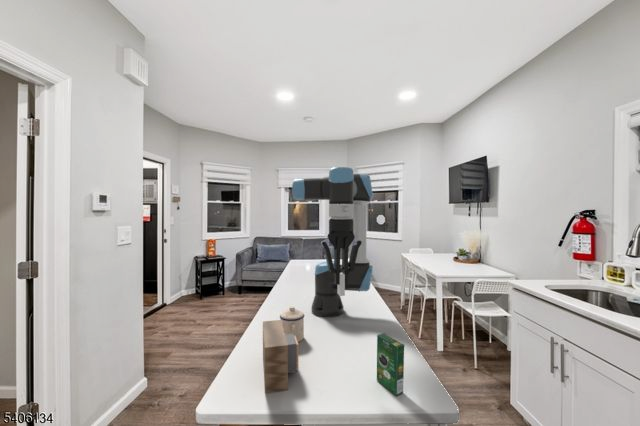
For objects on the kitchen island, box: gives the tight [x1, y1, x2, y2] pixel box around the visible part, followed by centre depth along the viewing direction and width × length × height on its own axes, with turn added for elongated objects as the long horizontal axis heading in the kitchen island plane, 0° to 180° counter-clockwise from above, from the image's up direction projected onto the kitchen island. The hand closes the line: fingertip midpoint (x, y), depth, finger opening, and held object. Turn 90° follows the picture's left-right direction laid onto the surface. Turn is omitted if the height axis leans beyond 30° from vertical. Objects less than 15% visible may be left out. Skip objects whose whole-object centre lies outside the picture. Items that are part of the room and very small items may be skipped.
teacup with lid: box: [279, 306, 305, 343], centre depth 106 cm, size 12×9×12 cm
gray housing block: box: [285, 334, 299, 374], centre depth 85 cm, size 9×7×8 cm
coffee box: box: [376, 332, 405, 397], centre depth 77 cm, size 8×3×13 cm, turn 29°
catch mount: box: [262, 319, 289, 394], centre depth 84 cm, size 6×18×12 cm, turn 13°
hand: (341, 294), depth 89 cm, fingers closed
